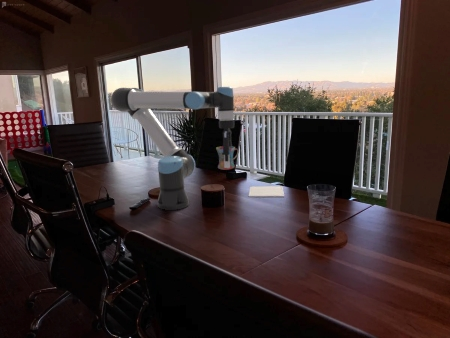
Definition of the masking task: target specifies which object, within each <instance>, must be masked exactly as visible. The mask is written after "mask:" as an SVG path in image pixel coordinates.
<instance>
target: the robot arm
mask: <svg viewBox="0 0 450 338" xmlns="http://www.w3.org/2000/svg"><path fill="white" fill-rule="evenodd" d="M110 100H111V104H112V106H113V108H114V109H116V111H119V112H122V113H128V114H129V116H130V117H131V118H132V119H133V120H137V121H138V124H140V126H141V127H142V128H143V129H144V131H145V132H146V134H147V136H148V137H149V139H151V141H152V142H153V143H154V145H155V146H156V147H157V149H158V150H159V152H160V153H161V154H162V156H163V157H162V158H161V159H159V160H158V162H157V170H158V180H159V195H158V199H157V208H158V207H159V208H161V209H160V210H162V209H165V210H164V211H177V209H178V210H182V209H186V208H187V207H189V206H190V200H189V197H188V194H187V192H186V190H185V179H186V178H188V177H190V176H191V175H192V174H193V173H194V171H195V169H196V161H195V158H193V156H192V155H191V154H188V153H187V152H186V151H185V150H184V148H182V147H178V145H177V144H176V143H175V141H174V140H173V138H172V137H171V136H170V134H169V133H168V132H167V130H166V129H165V128H164V126H163V124H162V123H161V122H160V120H159V119H158V117H156V115H155V113H154V112H153V111H152V109H167V110H168V109H169V110H170V109H174V110H175V109H176V110H178V109H180V110H183V109H184V110H185V109H186V110H200V109H212V108H215V109H216V108H218V109H217V113H218V115H217V116H218V120H219V121H218V128H219V129H223V131H222V146H223V153H222V155H224V168H230V154H229V147H230V146H233V144H232V130H231V129H234V128H235V120H234V119H235V115H236V112H235V109H234V108H235V107H234V100H235V99H234V90H233V87H231V86H219V87H217V90H216V91H145V90H143V89H140V88H138V87H120V88H116V89H115V90H114V91H113V93H112V94H111V97H110ZM159 208H158V209H159Z"/></svg>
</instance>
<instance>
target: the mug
mask: <svg viewBox="0 0 450 338" xmlns="http://www.w3.org/2000/svg"><path fill="white" fill-rule="evenodd" d="M215 149H216V151H217V154H218V160H219V161H218V162H219V163H218V165H217V168H218V169H220V170H226V171H227V170H233V169H234V168H236V166H235V164H234V163H235V162H234V160H235V159H236V158H238V155H239V152H240V151H239V149H238V148H236V146H233V145H232V146H230V147H229V154H230V168H224V155H222V153H223V145H222V146H217V147H216V148H215ZM235 151H237V153H236V155H235V156H234V152H235Z"/></svg>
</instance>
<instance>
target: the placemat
mask: <svg viewBox="0 0 450 338" xmlns="http://www.w3.org/2000/svg"><path fill="white" fill-rule="evenodd" d="M248 197H249V198H285V193H284V188H283V186H282V185H281V186H274V185H273V186H271V185H270V186H268V185H267V186H250V187H249V192H248Z"/></svg>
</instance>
